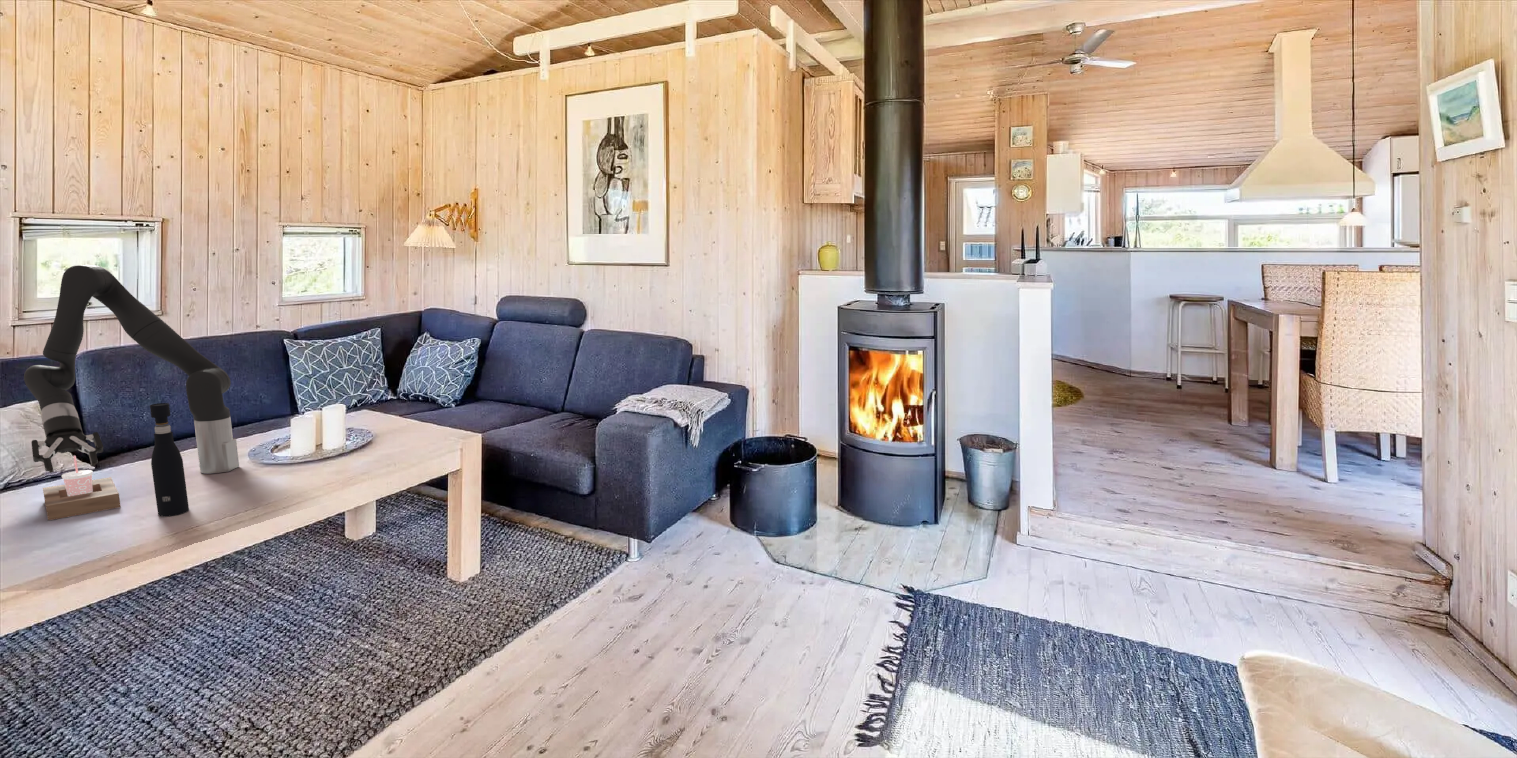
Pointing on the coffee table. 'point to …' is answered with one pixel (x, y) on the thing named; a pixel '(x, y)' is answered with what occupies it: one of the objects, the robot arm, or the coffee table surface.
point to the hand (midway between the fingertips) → (72, 467)
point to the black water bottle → (167, 466)
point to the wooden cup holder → (81, 499)
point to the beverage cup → (78, 481)
